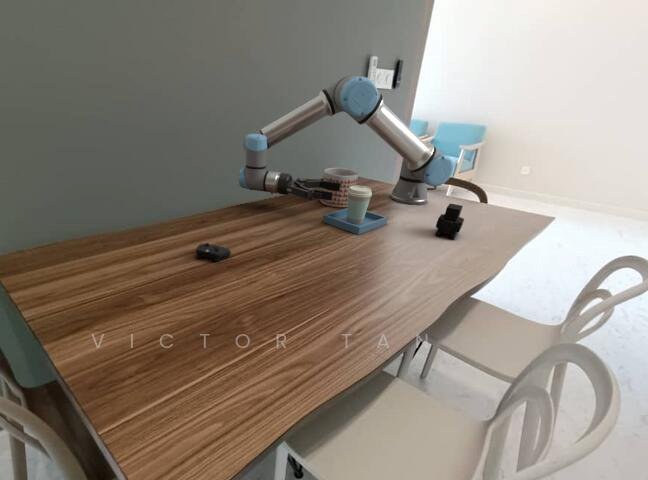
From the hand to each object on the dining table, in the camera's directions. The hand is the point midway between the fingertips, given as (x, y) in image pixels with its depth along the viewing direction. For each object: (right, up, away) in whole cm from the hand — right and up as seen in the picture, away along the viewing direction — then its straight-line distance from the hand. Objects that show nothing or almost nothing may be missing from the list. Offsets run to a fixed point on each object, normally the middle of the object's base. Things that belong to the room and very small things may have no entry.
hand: (336, 191), depth 139 cm
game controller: (-40, -26, -28) cm, 55 cm away
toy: (+39, -15, 0) cm, 42 cm away
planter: (+4, +1, +23) cm, 24 cm away
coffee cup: (+7, -10, +3) cm, 13 cm away
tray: (+7, -11, +3) cm, 13 cm away
